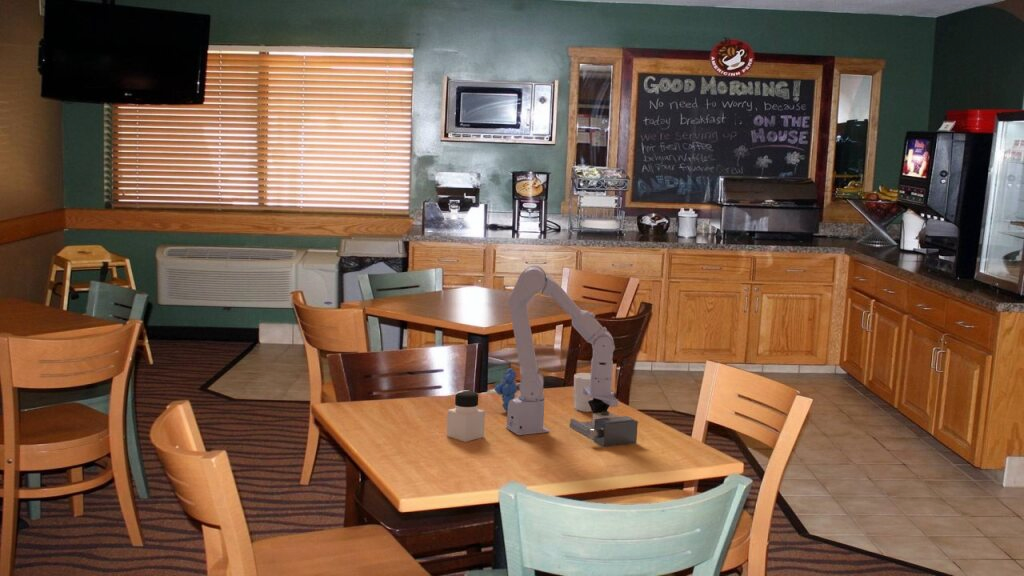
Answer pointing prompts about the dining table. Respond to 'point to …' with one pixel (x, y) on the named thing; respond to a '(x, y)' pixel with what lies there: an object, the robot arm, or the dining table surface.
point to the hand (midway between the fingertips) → (598, 426)
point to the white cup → (581, 392)
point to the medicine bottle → (465, 417)
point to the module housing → (608, 430)
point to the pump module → (602, 416)
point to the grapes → (507, 387)
